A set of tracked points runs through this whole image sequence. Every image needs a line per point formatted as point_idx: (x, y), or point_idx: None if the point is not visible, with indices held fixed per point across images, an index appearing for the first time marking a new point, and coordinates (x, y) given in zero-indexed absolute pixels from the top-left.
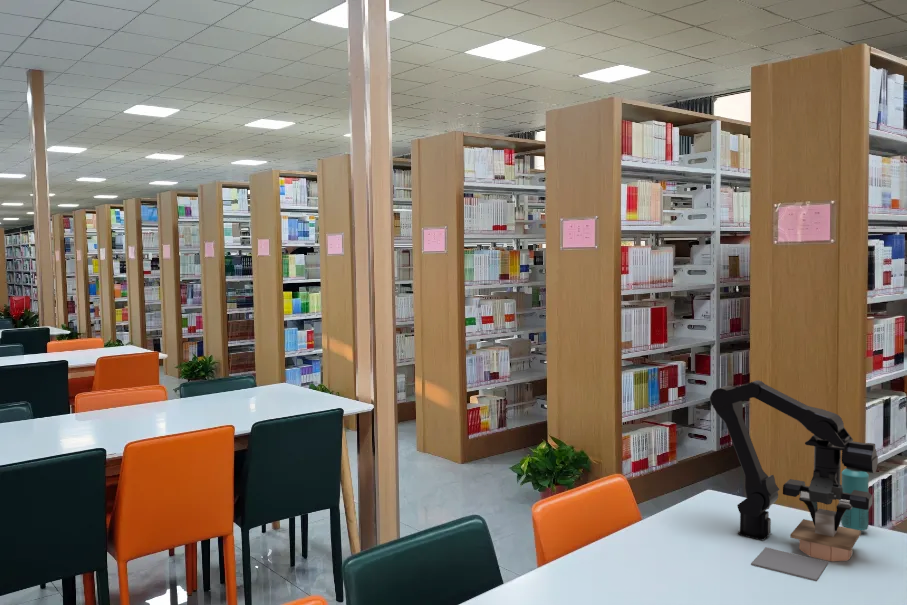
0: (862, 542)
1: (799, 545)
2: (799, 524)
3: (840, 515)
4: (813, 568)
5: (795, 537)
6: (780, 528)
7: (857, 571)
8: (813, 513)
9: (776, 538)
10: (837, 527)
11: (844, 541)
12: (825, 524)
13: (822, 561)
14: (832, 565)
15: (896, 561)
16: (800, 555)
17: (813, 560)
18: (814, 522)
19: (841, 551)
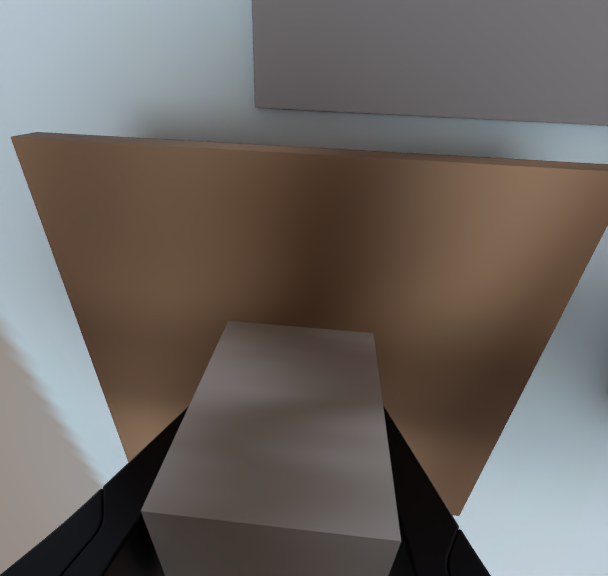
0: None
1: None
2: (493, 439)
3: (57, 546)
4: None
5: (560, 162)
6: (534, 464)
7: (69, 73)
8: (421, 535)
9: (579, 351)
10: (184, 410)
11: (121, 263)
12: (274, 400)
13: (291, 83)
14: (226, 84)
15: (22, 341)
16: (453, 112)
17: (353, 58)
18: (390, 433)
19: None
